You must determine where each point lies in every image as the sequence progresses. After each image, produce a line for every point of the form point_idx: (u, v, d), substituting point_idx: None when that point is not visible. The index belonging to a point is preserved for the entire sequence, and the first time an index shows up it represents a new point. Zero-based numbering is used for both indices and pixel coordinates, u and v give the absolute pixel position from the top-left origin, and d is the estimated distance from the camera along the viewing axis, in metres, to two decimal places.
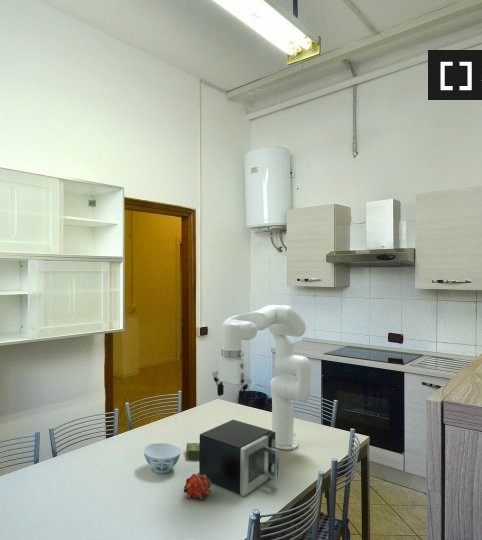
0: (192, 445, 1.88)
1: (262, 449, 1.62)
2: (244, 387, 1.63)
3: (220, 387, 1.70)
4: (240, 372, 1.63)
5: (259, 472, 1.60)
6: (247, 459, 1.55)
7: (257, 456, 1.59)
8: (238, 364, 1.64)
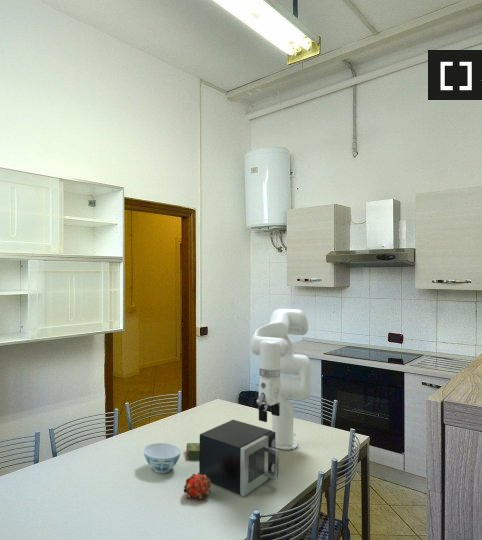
0: (192, 445, 1.88)
1: (262, 449, 1.62)
2: None
3: (273, 406, 1.67)
4: (260, 391, 1.60)
5: (259, 472, 1.60)
6: (247, 459, 1.55)
7: (257, 456, 1.59)
8: (259, 382, 1.61)
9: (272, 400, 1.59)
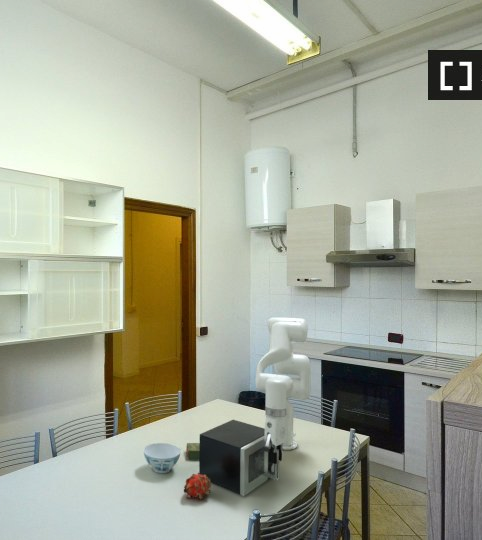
0: (192, 445, 1.88)
1: (262, 449, 1.62)
2: None
3: None
4: (266, 430, 1.59)
5: (259, 472, 1.60)
6: (247, 459, 1.55)
7: (257, 456, 1.59)
8: (265, 421, 1.60)
9: (278, 440, 1.57)
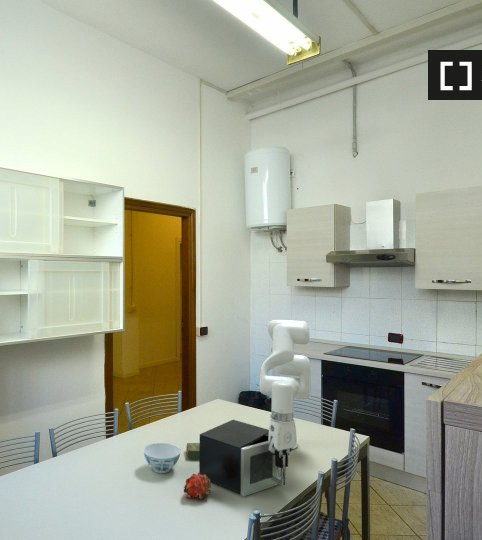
0: (192, 445, 1.88)
1: (269, 452, 1.59)
2: None
3: None
4: (269, 433, 1.56)
5: (265, 475, 1.58)
6: (248, 460, 1.54)
7: (262, 458, 1.57)
8: None
9: (281, 445, 1.53)
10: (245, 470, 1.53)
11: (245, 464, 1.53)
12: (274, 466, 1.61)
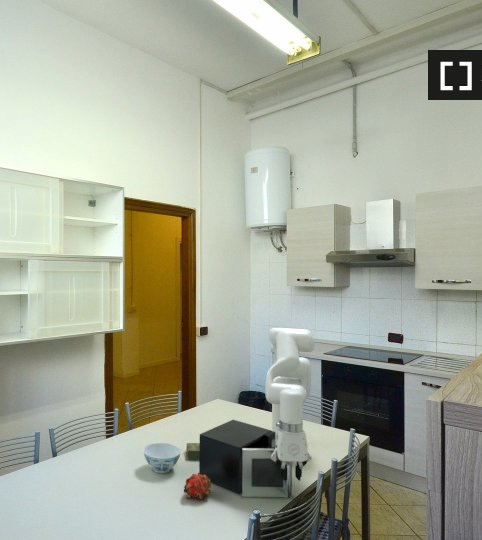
0: (192, 445, 1.88)
1: None
2: None
3: (296, 468, 1.49)
4: None
5: (272, 482, 1.52)
6: (249, 461, 1.53)
7: (268, 464, 1.52)
8: (277, 432, 1.50)
9: (285, 456, 1.46)
10: (245, 471, 1.53)
11: (245, 465, 1.53)
12: None
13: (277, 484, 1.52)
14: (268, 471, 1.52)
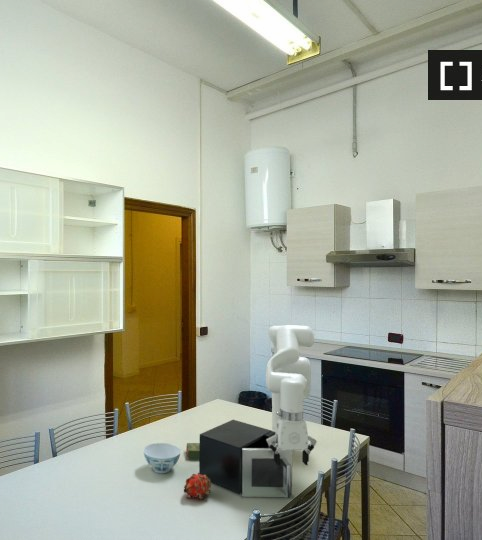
0: (192, 445, 1.88)
1: None
2: None
3: (303, 453, 1.50)
4: (276, 431, 1.50)
5: (272, 482, 1.52)
6: (249, 461, 1.53)
7: (268, 464, 1.52)
8: (277, 421, 1.50)
9: (285, 444, 1.46)
10: (245, 471, 1.53)
11: (245, 465, 1.53)
12: None
13: (277, 484, 1.52)
14: (268, 471, 1.52)
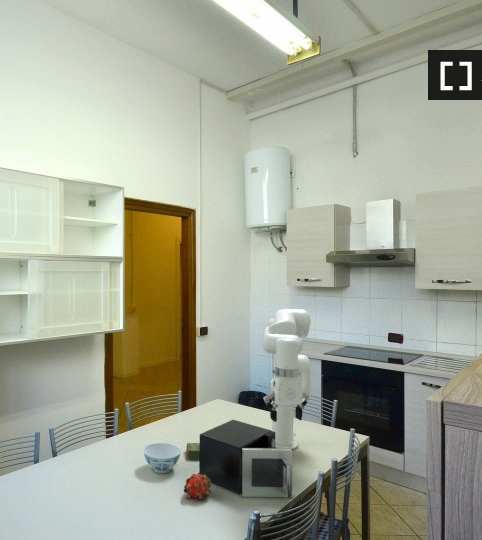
0: (192, 445, 1.88)
1: (278, 460, 1.52)
2: None
3: (296, 409, 1.56)
4: (272, 389, 1.55)
5: (272, 482, 1.52)
6: (249, 461, 1.53)
7: (268, 464, 1.52)
8: (273, 379, 1.55)
9: (282, 400, 1.51)
10: (245, 471, 1.53)
11: (245, 465, 1.53)
12: None
13: (277, 484, 1.52)
14: (268, 471, 1.52)
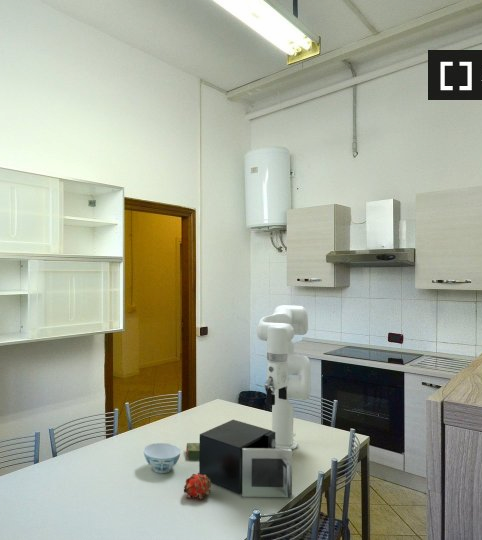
0: (192, 445, 1.88)
1: (278, 460, 1.52)
2: None
3: (280, 390, 1.70)
4: (268, 374, 1.63)
5: (272, 482, 1.52)
6: (249, 461, 1.53)
7: (268, 464, 1.52)
8: (267, 366, 1.64)
9: (280, 383, 1.62)
10: (245, 471, 1.53)
11: (245, 465, 1.53)
12: None
13: (277, 484, 1.52)
14: (268, 471, 1.52)
